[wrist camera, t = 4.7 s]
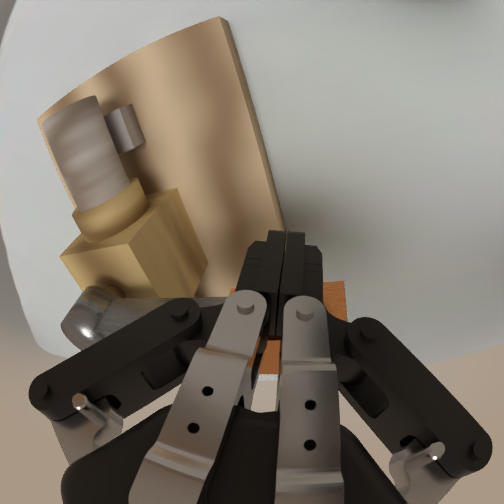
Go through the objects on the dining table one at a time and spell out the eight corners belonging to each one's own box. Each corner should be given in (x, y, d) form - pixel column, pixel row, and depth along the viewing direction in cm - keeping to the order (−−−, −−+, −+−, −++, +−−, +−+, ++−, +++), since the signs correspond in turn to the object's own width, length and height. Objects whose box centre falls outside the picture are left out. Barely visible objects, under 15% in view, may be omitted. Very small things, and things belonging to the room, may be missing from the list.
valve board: (227, 20, 13) (154, -13, 6) (307, 332, 30) (300, 416, 22) (51, 113, 19) (-32, 155, 11) (168, 333, 35) (141, 398, 27)
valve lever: (103, 323, 18) (84, 356, 15) (75, 285, 16) (51, 319, 13) (344, 325, 13) (346, 378, 11) (343, 271, 11) (348, 329, 9)
